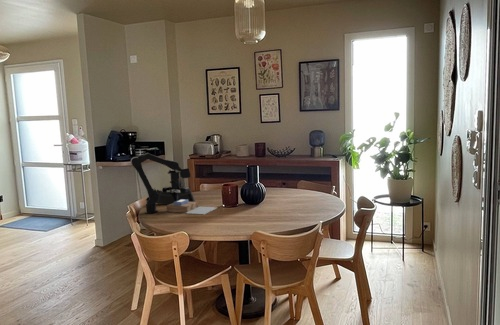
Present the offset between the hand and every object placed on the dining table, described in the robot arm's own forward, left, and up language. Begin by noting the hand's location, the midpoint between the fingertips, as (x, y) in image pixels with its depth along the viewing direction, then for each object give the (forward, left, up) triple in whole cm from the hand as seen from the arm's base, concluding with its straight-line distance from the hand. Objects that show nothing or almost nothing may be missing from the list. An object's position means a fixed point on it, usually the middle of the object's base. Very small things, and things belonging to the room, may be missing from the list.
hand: (176, 201), depth 276 cm
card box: (0, -4, -1) cm, 4 cm away
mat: (0, -19, -5) cm, 20 cm away
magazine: (+14, +12, -6) cm, 19 cm away
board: (0, -4, -5) cm, 7 cm away
